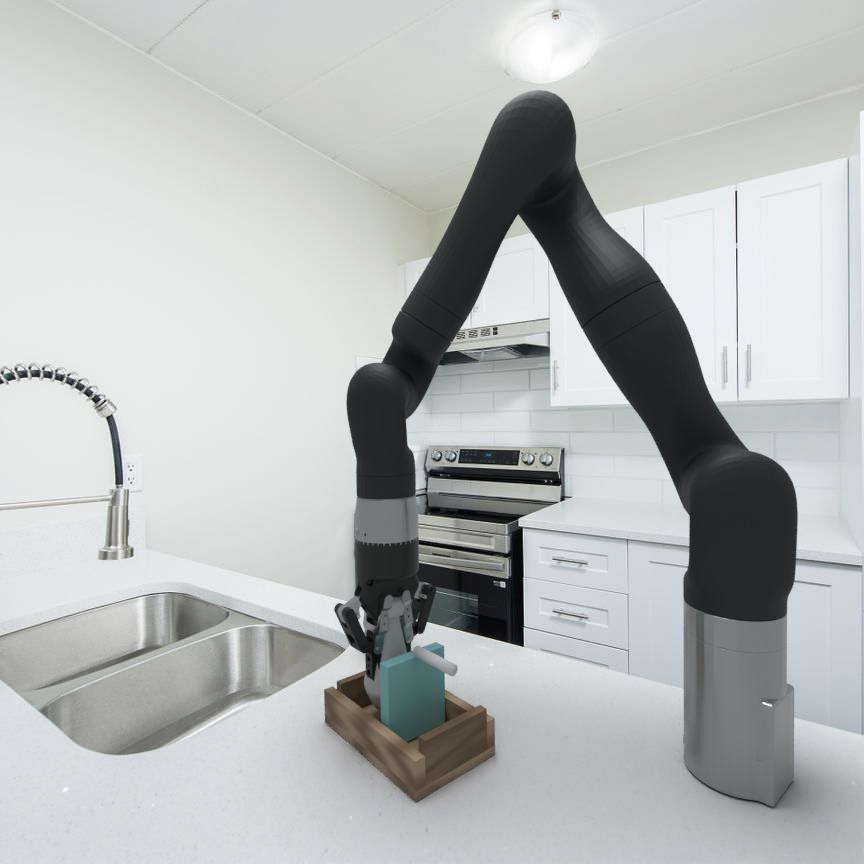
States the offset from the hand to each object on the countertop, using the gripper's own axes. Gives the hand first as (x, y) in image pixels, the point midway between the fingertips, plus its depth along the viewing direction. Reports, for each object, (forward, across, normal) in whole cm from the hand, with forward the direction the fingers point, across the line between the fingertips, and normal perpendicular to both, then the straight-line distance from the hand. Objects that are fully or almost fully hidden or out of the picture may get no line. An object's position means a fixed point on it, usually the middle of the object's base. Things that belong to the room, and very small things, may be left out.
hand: (389, 675), depth 64 cm
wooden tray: (+6, 0, -3) cm, 7 cm away
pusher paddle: (+5, 0, -8) cm, 9 cm away
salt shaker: (+3, 0, 0) cm, 3 cm away
